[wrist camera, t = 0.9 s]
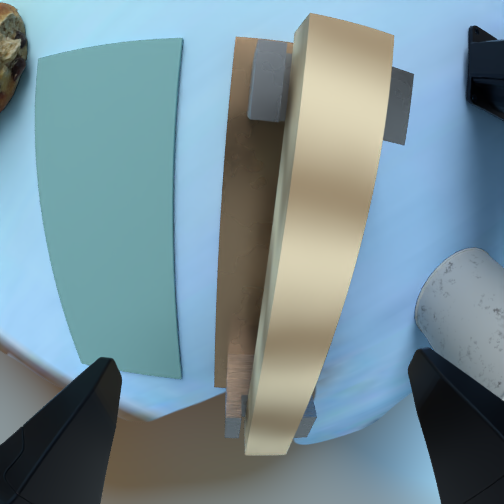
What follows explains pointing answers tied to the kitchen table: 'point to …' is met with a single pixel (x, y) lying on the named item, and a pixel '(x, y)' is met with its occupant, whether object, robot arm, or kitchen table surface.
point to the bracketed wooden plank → (261, 207)
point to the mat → (112, 197)
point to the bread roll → (11, 51)
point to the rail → (316, 216)
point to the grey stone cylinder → (467, 315)
